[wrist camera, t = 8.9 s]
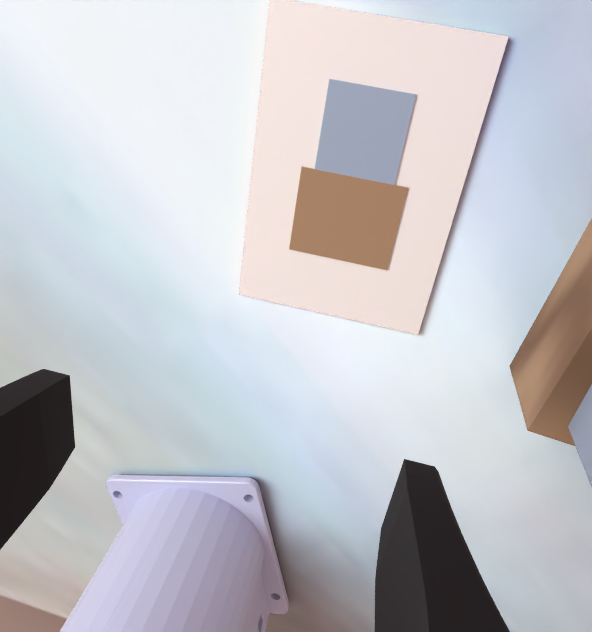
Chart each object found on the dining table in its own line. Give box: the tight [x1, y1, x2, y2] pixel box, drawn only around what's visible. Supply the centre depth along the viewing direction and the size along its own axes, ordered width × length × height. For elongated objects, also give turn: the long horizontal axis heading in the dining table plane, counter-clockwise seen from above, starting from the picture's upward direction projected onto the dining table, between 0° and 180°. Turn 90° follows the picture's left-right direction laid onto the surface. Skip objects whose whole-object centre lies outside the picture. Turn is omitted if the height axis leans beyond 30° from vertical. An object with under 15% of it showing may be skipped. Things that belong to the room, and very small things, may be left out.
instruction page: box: [239, 0, 509, 335], centre depth 18 cm, size 10×7×1 cm
